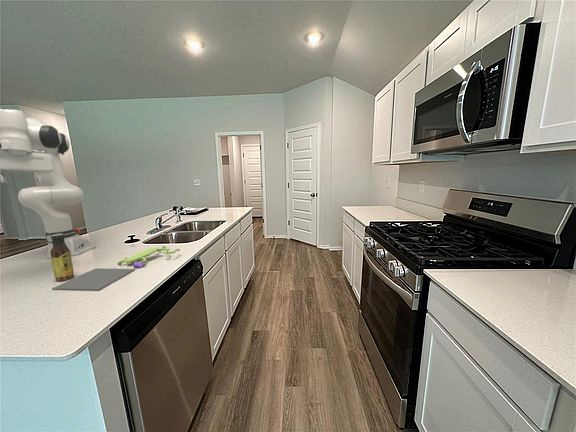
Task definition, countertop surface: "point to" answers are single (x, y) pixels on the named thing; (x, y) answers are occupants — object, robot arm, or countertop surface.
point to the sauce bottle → (61, 259)
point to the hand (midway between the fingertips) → (21, 182)
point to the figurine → (144, 254)
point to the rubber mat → (94, 279)
